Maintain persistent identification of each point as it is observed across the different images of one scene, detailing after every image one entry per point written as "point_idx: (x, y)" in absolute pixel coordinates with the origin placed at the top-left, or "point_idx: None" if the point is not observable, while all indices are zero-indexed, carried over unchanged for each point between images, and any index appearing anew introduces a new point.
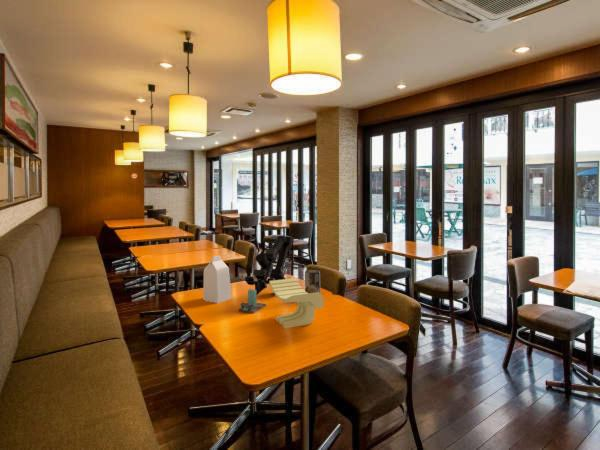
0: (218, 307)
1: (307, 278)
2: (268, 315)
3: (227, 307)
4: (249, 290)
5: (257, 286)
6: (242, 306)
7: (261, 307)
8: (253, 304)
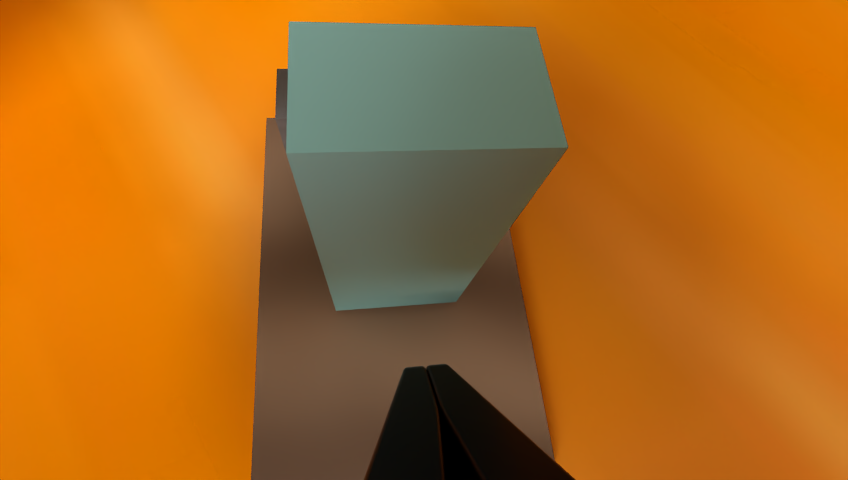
0: (771, 152)
1: None
2: (29, 136)
3: (697, 189)
4: (477, 28)
5: None
6: None
7: (261, 348)
8: (276, 107)
